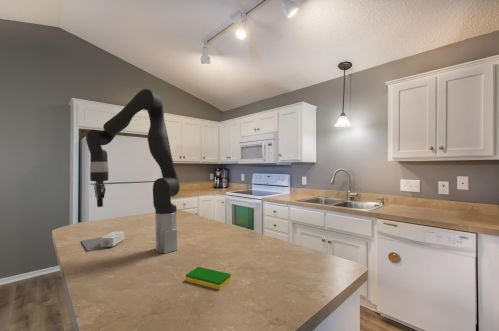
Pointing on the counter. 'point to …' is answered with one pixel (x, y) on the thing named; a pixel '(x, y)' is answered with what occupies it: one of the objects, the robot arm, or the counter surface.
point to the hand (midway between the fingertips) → (99, 206)
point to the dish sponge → (208, 277)
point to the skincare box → (112, 239)
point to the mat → (93, 244)
